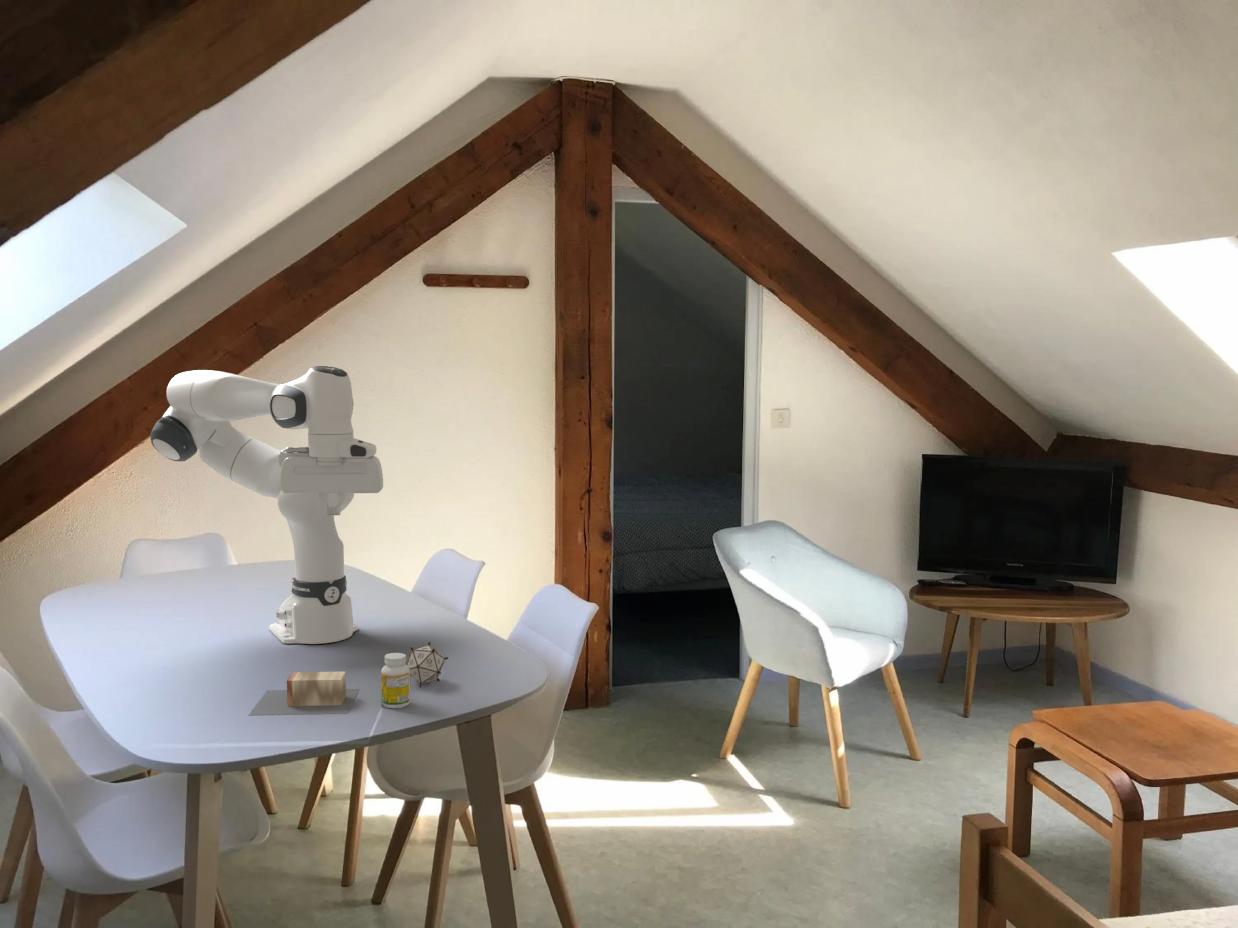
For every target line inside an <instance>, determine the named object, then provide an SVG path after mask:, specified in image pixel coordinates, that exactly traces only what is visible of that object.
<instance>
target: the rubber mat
mask: <svg viewBox="0 0 1238 928" xmlns="http://www.w3.org/2000/svg"><path fill="white" fill-rule="evenodd" d="M360 690H361V689H360V688H346V697H345V699H344V701H343V703H342V705H329V706H287V689H267V690H266V691H265V693H264V694H263V696H262V697H261V698H260V699H259V700H258V702H257V703H256V704H255V705H254V707H253V708H252V710H251V711H250V713H249V714H248V716H250V717H251V716H253V717H254V716H290V715H291V716H295V715H296V716H298V715H300V716H301V715H305V716H306V715H308V716H309V715H344V714H345V715H347V714H349V712H350V710H351V708H352V706H353V704H354V702H355V699H356V698H357V695H358V694H359V692H360Z"/></svg>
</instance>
